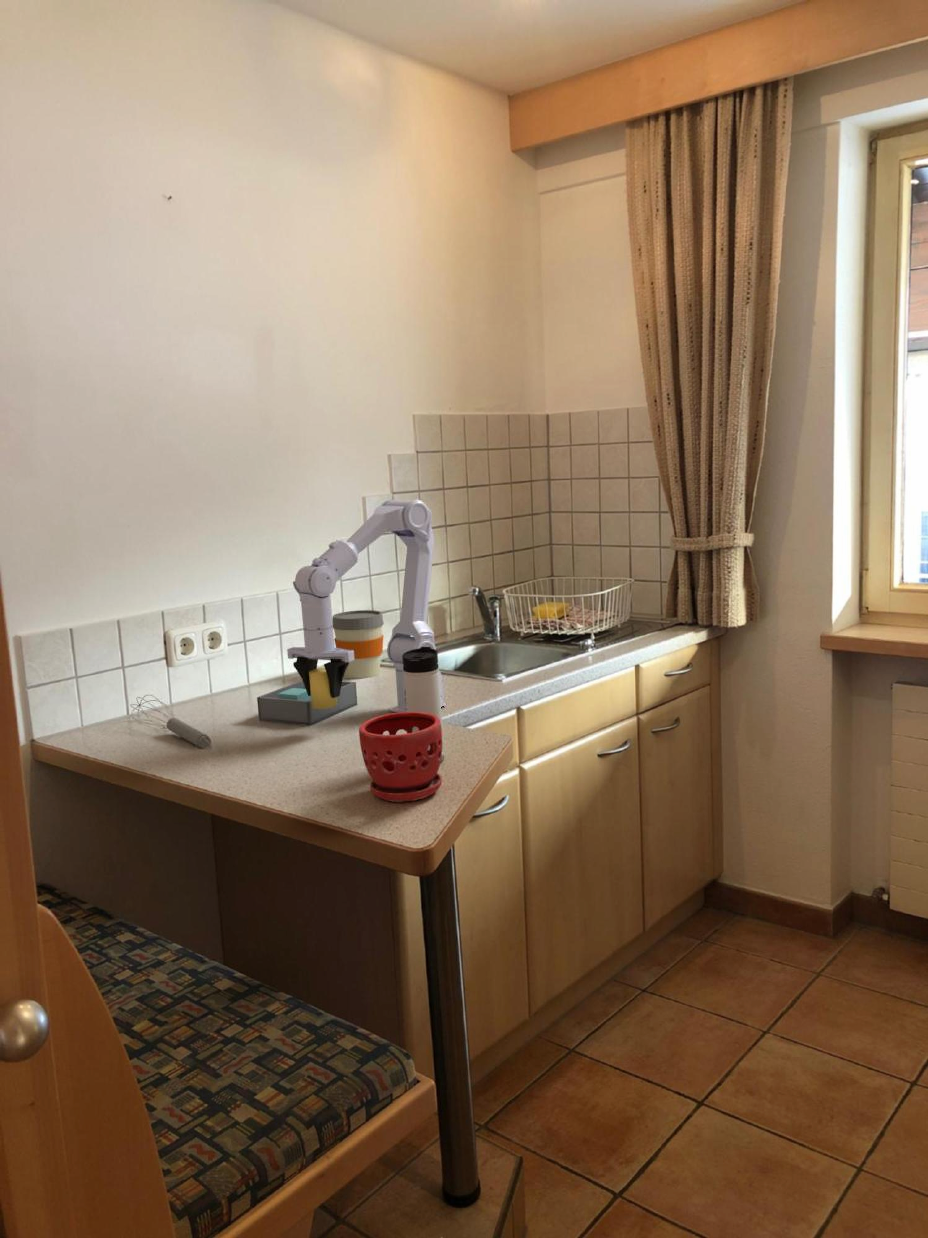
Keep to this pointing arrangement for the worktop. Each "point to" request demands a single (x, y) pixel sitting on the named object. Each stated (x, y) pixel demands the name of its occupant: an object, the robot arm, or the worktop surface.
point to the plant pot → (402, 755)
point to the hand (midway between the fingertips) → (323, 695)
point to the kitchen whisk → (180, 728)
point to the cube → (295, 694)
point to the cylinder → (320, 690)
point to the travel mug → (422, 683)
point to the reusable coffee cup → (360, 640)
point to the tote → (302, 706)
